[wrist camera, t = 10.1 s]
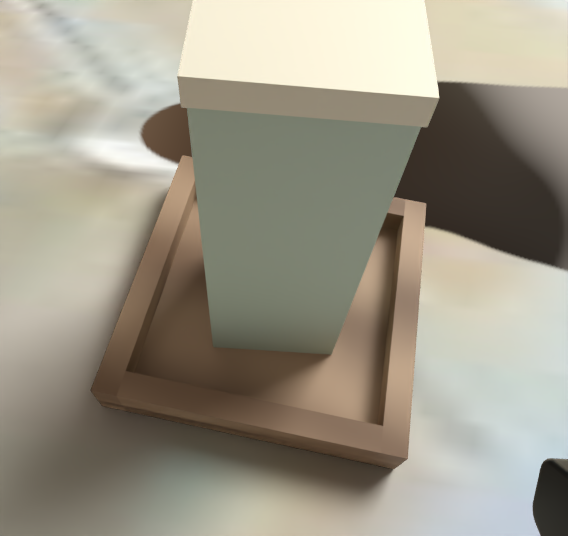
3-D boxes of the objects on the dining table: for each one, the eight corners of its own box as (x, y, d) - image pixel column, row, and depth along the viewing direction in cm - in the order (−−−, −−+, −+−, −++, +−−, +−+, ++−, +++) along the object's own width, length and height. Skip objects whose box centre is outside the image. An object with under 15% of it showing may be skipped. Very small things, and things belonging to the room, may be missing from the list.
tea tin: (333, 356, 23) (439, 97, 11) (210, 349, 23) (177, 76, 11) (332, 253, 26) (416, -49, 13) (222, 245, 25) (206, -69, 13)
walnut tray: (394, 469, 22) (407, 458, 20) (101, 405, 22) (90, 390, 20) (414, 227, 28) (426, 203, 26) (185, 181, 28) (182, 155, 26)
